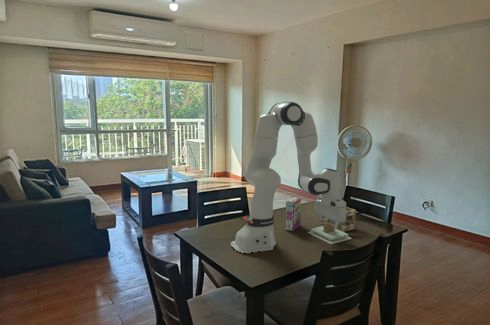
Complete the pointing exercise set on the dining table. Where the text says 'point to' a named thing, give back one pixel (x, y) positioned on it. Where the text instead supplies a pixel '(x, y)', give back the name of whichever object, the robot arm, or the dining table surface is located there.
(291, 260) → the dining table surface
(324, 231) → the lid
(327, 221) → the crate
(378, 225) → the dining table surface
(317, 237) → the mat
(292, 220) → the candy bar box
